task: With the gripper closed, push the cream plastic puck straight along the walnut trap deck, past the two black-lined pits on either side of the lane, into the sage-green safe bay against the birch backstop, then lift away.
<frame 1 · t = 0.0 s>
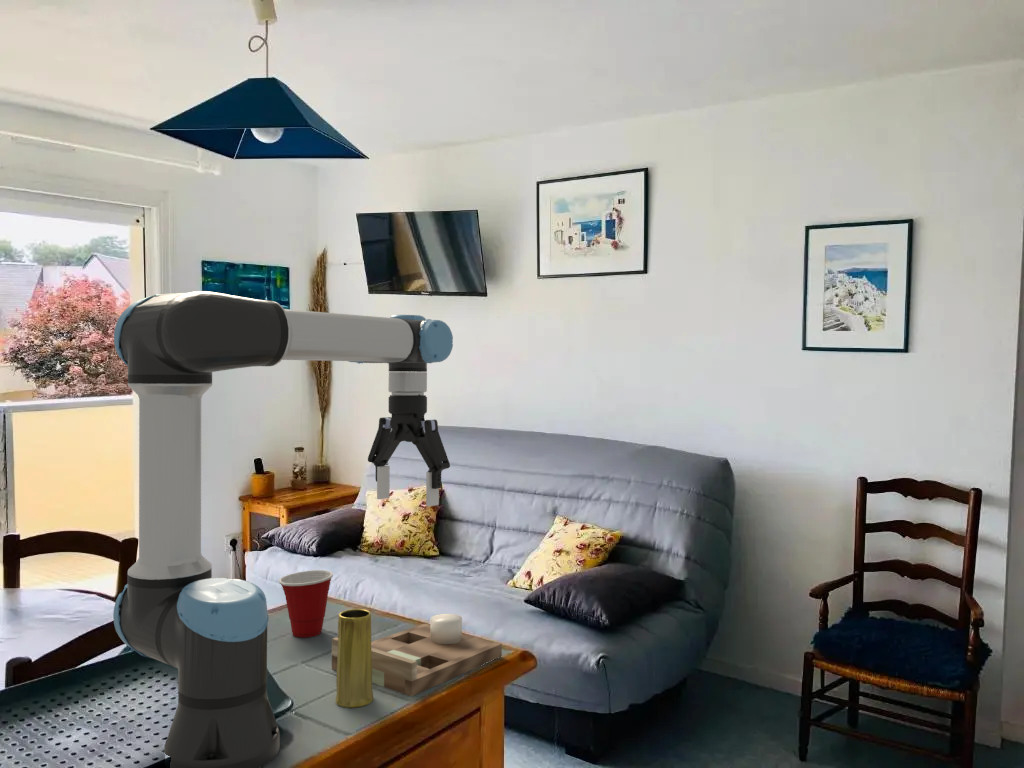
hand: (407, 502, 160), 28 cm above the table, fingers open, 13 cm apart
trap deck: (418, 662, 150), on the table
vase: (354, 702, 132), on the table
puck: (446, 639, 156), point 2 cm above the table, touching trap deck
plastic cup: (305, 634, 166), on the table
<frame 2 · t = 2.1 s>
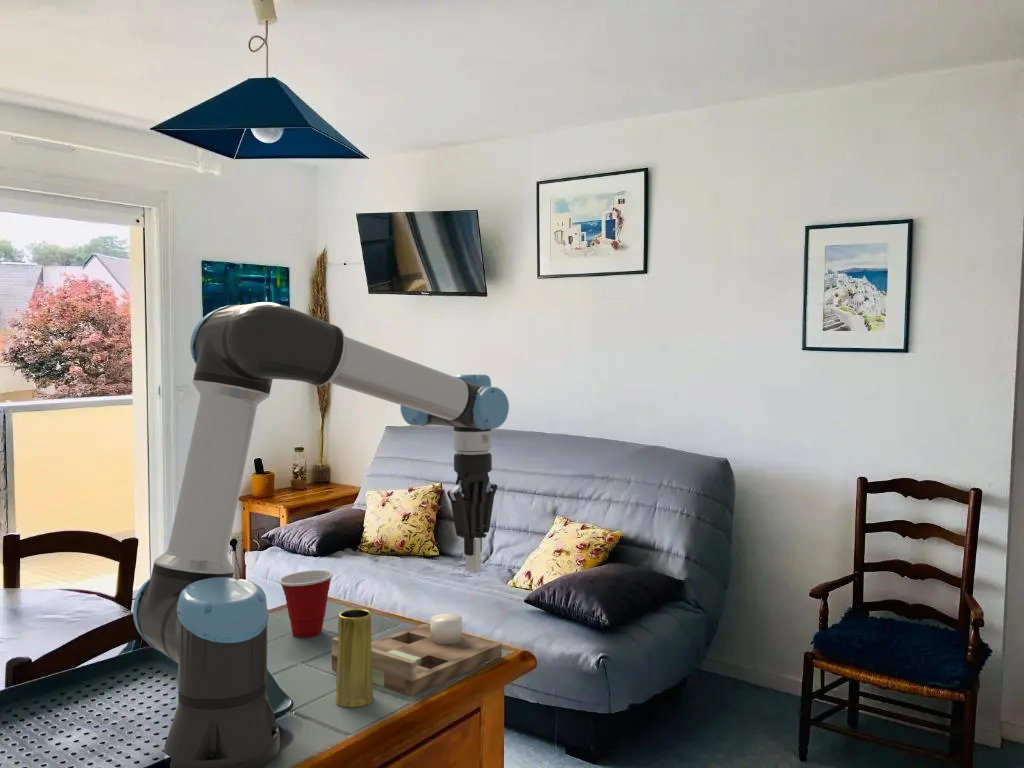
hand: (473, 570, 162), 14 cm above the table, fingers closed
nothing on the table moved.
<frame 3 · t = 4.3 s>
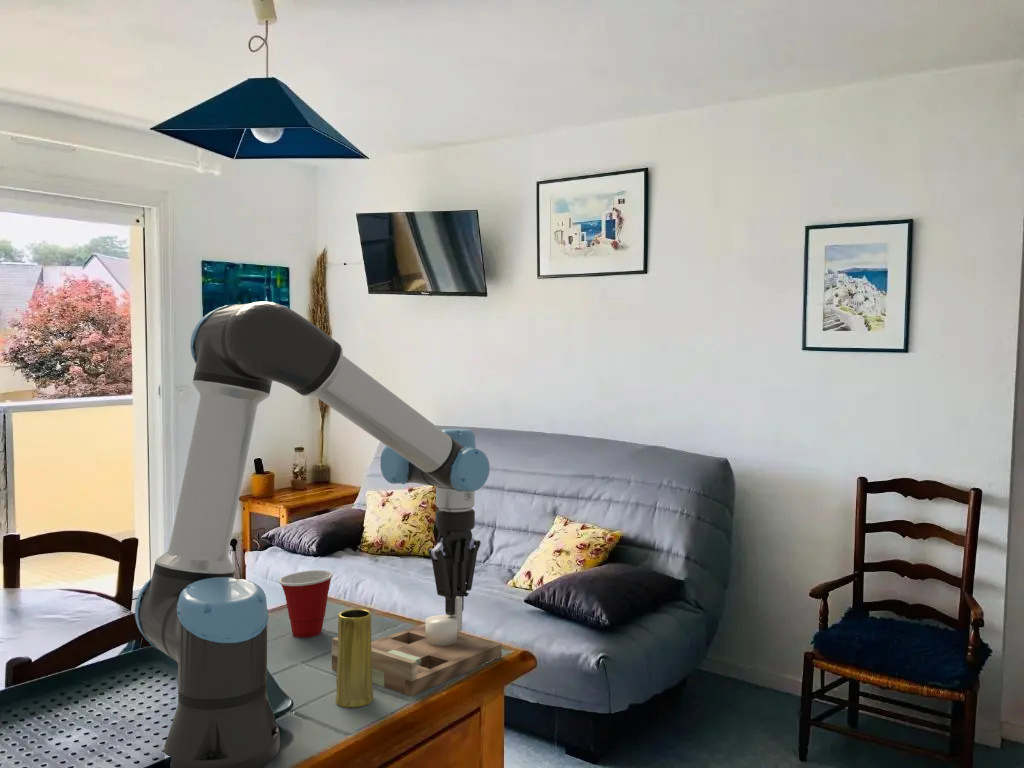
hand: (454, 630, 158), 4 cm above the table, fingers closed
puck: (441, 640, 155), point 3 cm above the table, touching gripper
everything else where it was.
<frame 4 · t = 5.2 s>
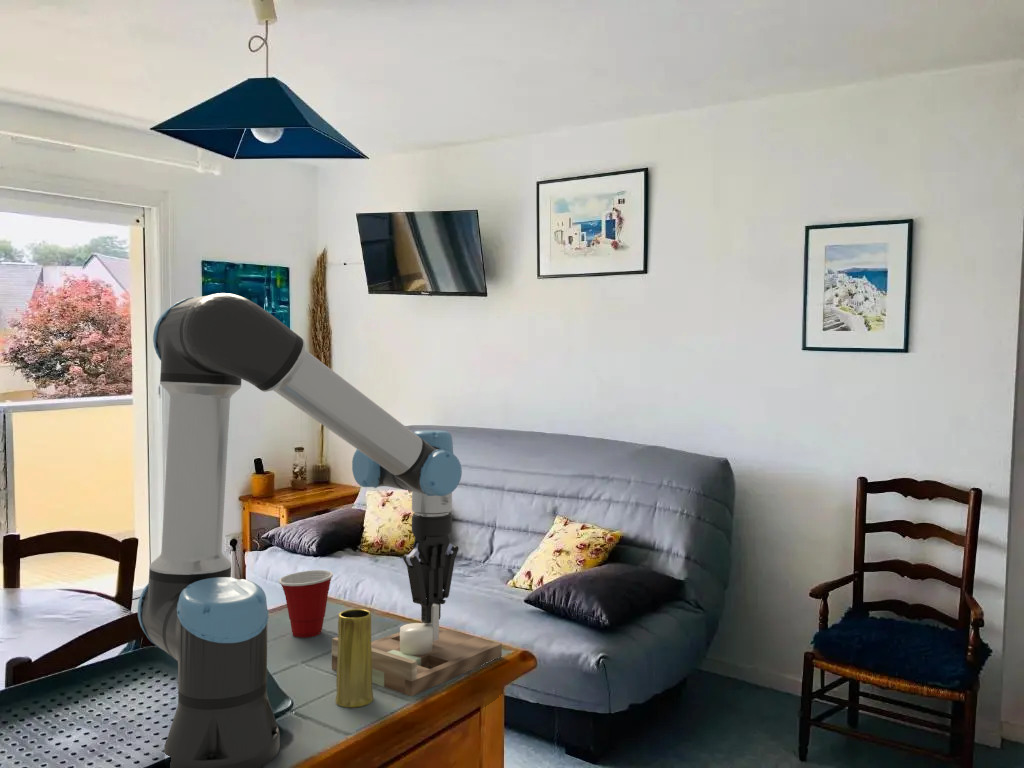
hand: (430, 638, 152), 4 cm above the table, fingers closed
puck: (416, 649, 150), point 3 cm above the table, touching gripper
everything else where it was.
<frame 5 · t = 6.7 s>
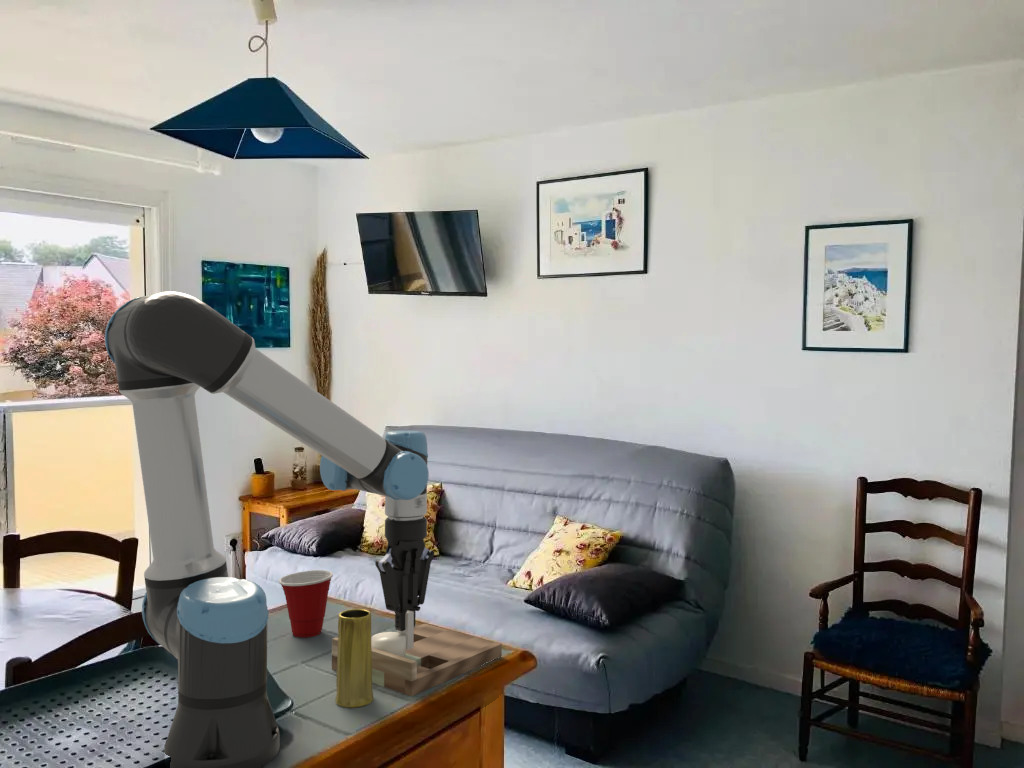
hand: (405, 646, 147), 4 cm above the table, fingers closed
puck: (388, 659, 144), point 2 cm above the table, touching gripper, trap deck
everything else where it was.
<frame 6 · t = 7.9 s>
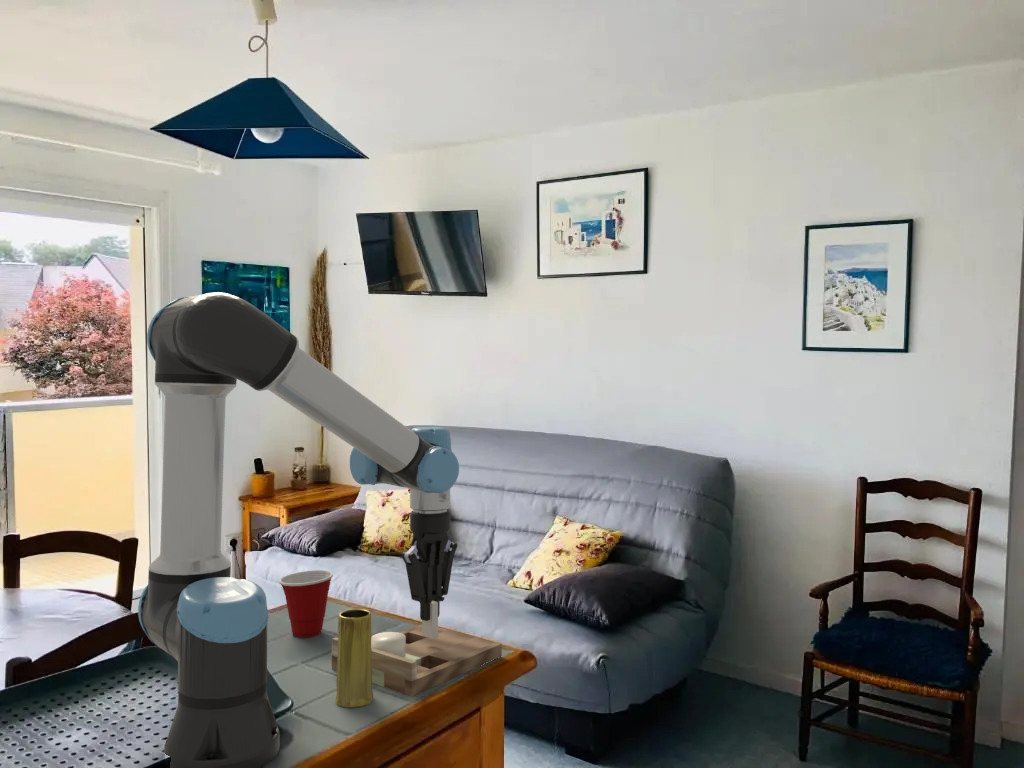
hand: (429, 636, 152), 4 cm above the table, fingers closed
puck: (388, 659, 144), point 3 cm above the table, touching trap deck
everything else where it was.
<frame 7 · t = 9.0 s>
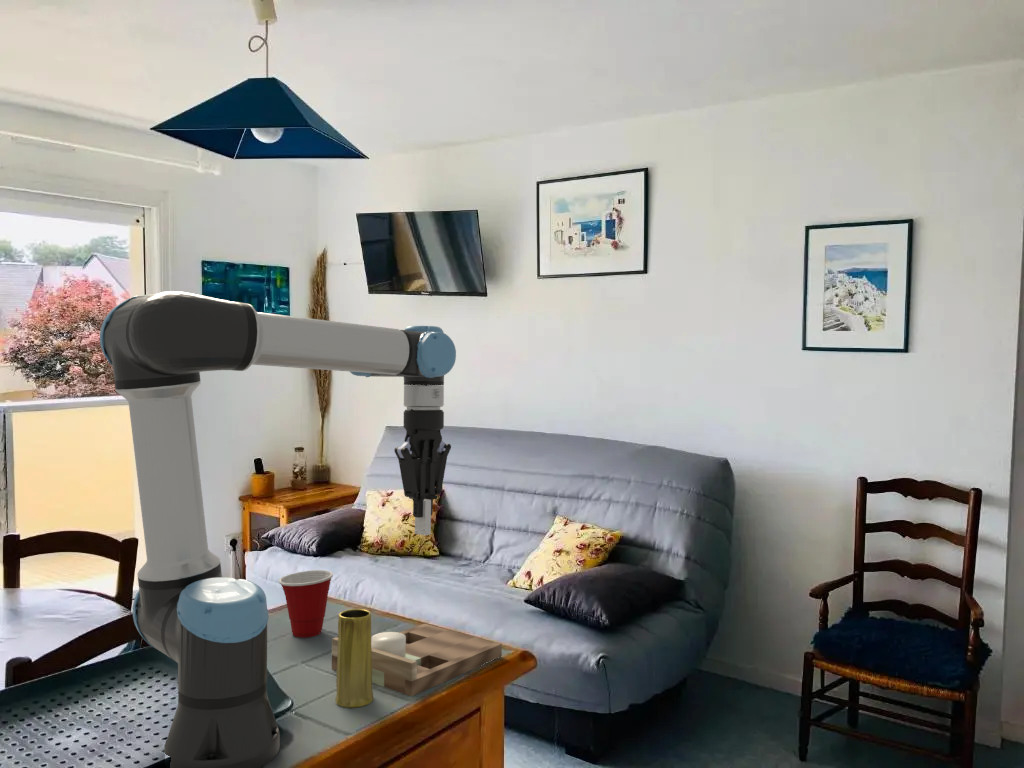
hand: (422, 533, 153), 23 cm above the table, fingers closed
nothing on the table moved.
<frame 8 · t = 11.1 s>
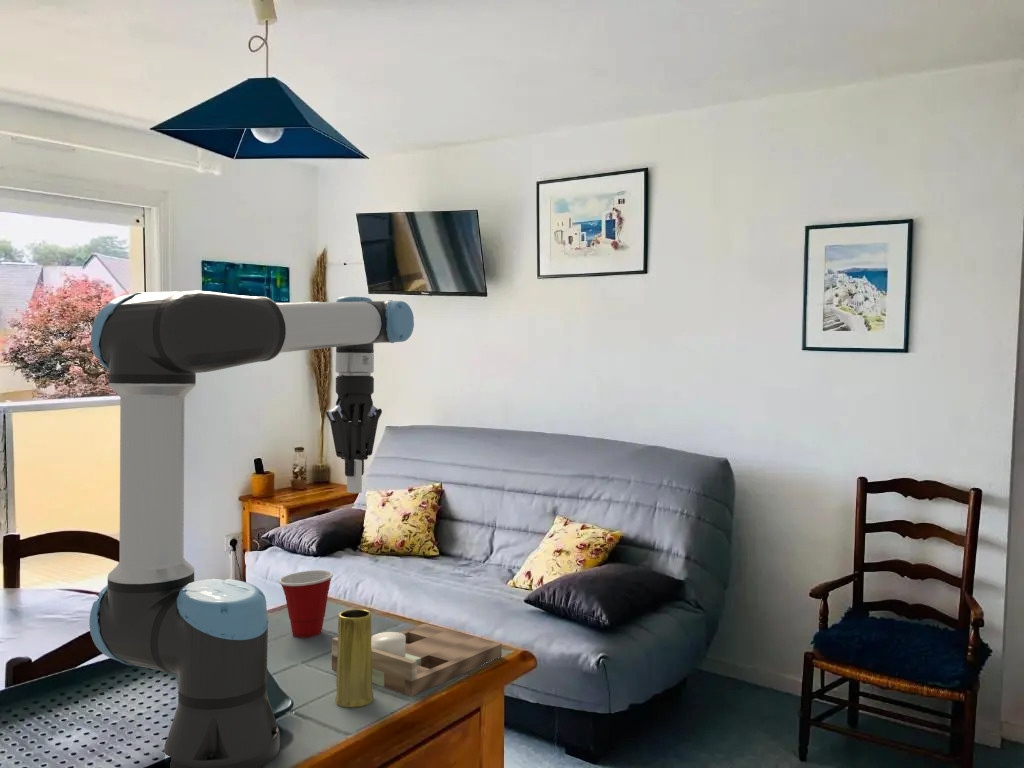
hand: (354, 492, 163), 29 cm above the table, fingers closed
nothing on the table moved.
at the end: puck inside the target area on the trap deck (0.4 cm from its centre), point 2.5 cm above the trap deck's base; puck tilted 0° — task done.
